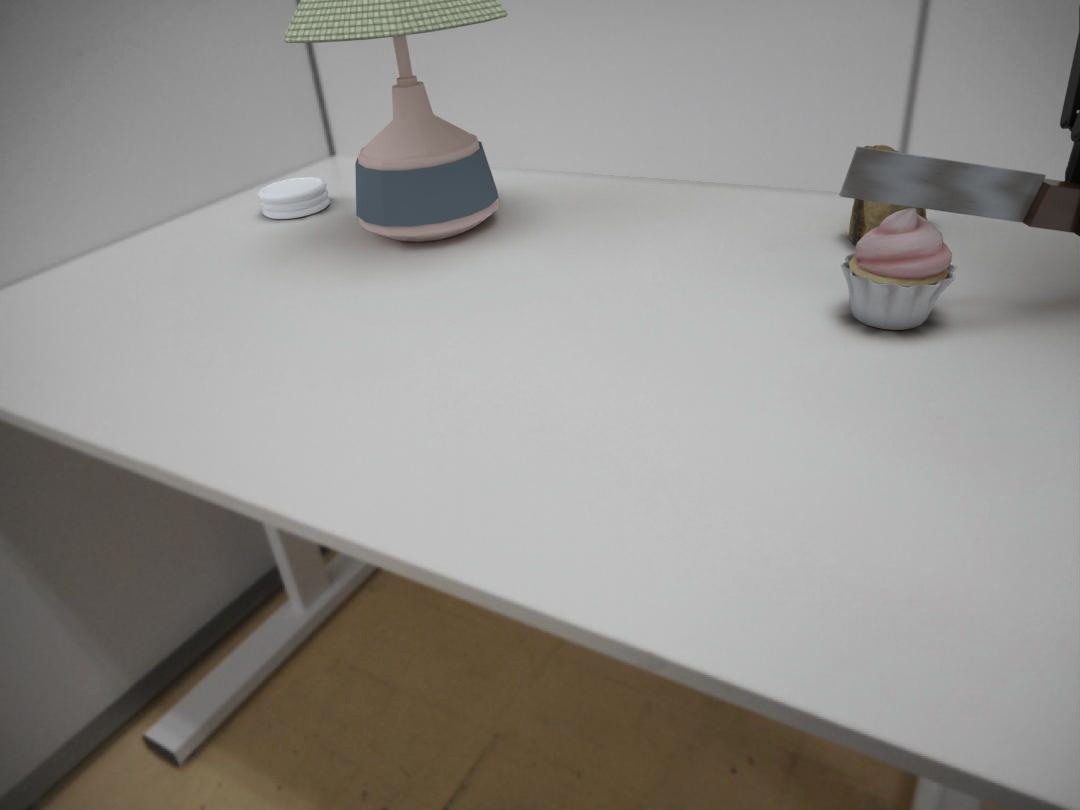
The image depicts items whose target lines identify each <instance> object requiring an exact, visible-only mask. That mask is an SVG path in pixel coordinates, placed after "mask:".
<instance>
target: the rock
mask: <svg viewBox="0 0 1080 810" xmlns="http://www.w3.org/2000/svg"><path fill="white" fill-rule="evenodd" d="M864 147H865V148H872V149H879V150H885V151H892V152H899V153H901V151H899V150H895V149H894V148H893V147H892V146H888V145H884V144H876V145H865V146H864ZM909 208H915V209H916V213H917V214H918V215H919V216H921V217H923V218H924V219H925V220H927V221H928V218H927V209H923V208H916V207H909V206H902V205H895V204H888V203H881V202H874V201H867V200H860V199H853V204H852V209H851V214H850V218H849V219H850V220H849V230H848V238H849V239H850V241H851V242H852V244H853V245H854V246H855V247H856V245H857V242H858V241H859V240H860V239H861V238H862V237H863V236H864V235H865V234H866V233H868V232H869V231H871V230H872V229H874V228H876V227H879V226H880V224H881V222H882V221H883V220H884V219H885V218H887V217H888V216H890V215H892V214H893V213H895V212H898V211H902V210H906V209H909Z"/></svg>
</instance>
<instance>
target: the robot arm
mask: <svg viewBox="0 0 1080 810" xmlns="http://www.w3.org/2000/svg"><path fill="white" fill-rule="evenodd" d="M1076 39H1077V40H1076V43H1075V48H1074V53H1073V57H1072V63H1071V68H1070V73H1069V76H1068V81H1067V87H1066V92H1065V97H1064V100H1063V105H1062V110H1061V114H1060V119H1059V126H1060V128H1061V129H1062V130H1067V129H1068V130H1069V132H1070V140H1071V141H1072V142H1073V145H1072V148H1071V151H1070V154H1069V158H1068V162H1067V165H1066V169H1065V171H1064V181H1065V182H1072V183H1079V184H1080V5H1079V7H1078V34H1077V38H1076ZM1074 235H1076V236H1078V237H1080V219H1079V222H1078V225H1077V228H1076V231H1075V233H1074Z"/></svg>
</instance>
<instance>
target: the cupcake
mask: <svg viewBox="0 0 1080 810" xmlns="http://www.w3.org/2000/svg"><path fill="white" fill-rule="evenodd" d="M952 258H953V252H952V251H951V249H950V248H949V246H948V245H947V243H945V241H944V236H943V233H942V232H941V231H940V230H939V229H938V228H937V227H936V226H934V224H931V222H929V221H928V219H927V220H925V219H924V218H923V217H921V216H919V215H918V214H917V213H916V209H915V208H909V209H906V210H902V211H898V212H895V213H893V214H892V215H890V216H888V217H887V218H885V219H884V220H883V221H882V222H881V224H880V226H879V227H876V228H874V229H872V230H871V231H869V232H868V233H866V234H865V235H864V236H863V237H862V238H861V239H860V240H859V241H858V242H857V245H856V246H855V253H849V254H847V255H845V257H844V259H845V261H844V262H842V263H841V264H840V268H841V271H842V273H843V276H844V278H845V280H846V281H845V282H846V283H847V290H848V296H849V307H850V312H851V314H852V316H853V318H855V319H856V321H858V322H860V323H863V324H864V325H867V326H870V327H873V328H878V329H882V330H890V331H891V330H892V331H897V330H898V331H901V330H902V331H904V330H909V329H910V330H911V329H915V328H918V327H920V326H921V325H923V324H924V323H925V322H926V321H927V320H928V317H929V316H930V314H931V312H932V310H933V308H934V306H935V304H936V303H937V301H938V299H939V298H940V296H941V294H942V293H943V292H944V291H945V290H947V288H948V287H949V286H950V285H951V284H952V283H953V282H954V281H955V280H956V279H957V277H956V275H954V273H955V271H956V270H957V269H958V266H956V265H954V264H951V263H952V260H953V259H952Z"/></svg>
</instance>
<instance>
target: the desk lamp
mask: <svg viewBox="0 0 1080 810" xmlns="http://www.w3.org/2000/svg"><path fill="white" fill-rule="evenodd" d="M508 15H509V12H508V10H507V9H506V8H505V7H504V6H503V5H502V4H501V2H500V1H499V0H299V2H298V5H297V6H296V9H295V11H294V14H293V15H292V17H291V20H290V22H289V24H288V27H287V29H286V31H285V32H284V34H283V37H282V41H284V42H285V43H286V44H319V43H336V42H337V43H339V42H354V41H367V40H368V41H369V40H377V39H385V38H392V42H393V48H394V53H395V59H396V65H397V69H398V75H399V77H397V78H396V84H393V85H392V86H391V99H392V102H391V103H392V120H390V122H389V123H388V124H387V125H386V126H385V127H384V128H383V129H381V131H379V132H378V133H377V134H376V135H375V136H374V137H373V138H371V140H370V141H369V142H368V143H366V145H365V146H364V147H362V148H360V149H359V151H358V155H357V158H356V160H355V163H354V164H355V207H356V208H355V211H356V212H355V214H356V216H357V217H358V221H359V222H358V223H359V225H360V226H361V227H362V228H364V229H365V230H366V231H367V232H370V233H372V234H375V235H377V236H381V237H385V238H388V239H390V240H396V241H398V242H403V243H404V242H405V243H425V242H432V241H440V240H444V239H449V238H452V237H456V236H459V235H461V234H465V233H466V232H469V231H470V230H473V229H474V228H475V227H476V226H478V225H480V224H481V223H482V222H483V221H485V220H487V218H488V217H491V215H493V213H494V212H495V211H496V210H497V209H498V208H499V206H500V205H499V200H498V199H499V197H500V196H499V192H498V187H497V185H496V182H495V180H494V176H493V173H492V169H491V167H490V164H489V161H488V158H487V156H486V152H485V149H484V146H483V142H482V141H480V140H479V139H478V136H477V135H476V134H474V133H470V132H469V131H467V130H465V129H463V128H462V127H459V126H457V125H455V124H453V123H452V122H450V121H447V120H445V119H443V118H441V117H440V116H438V115H435V113H434V112H433V108H432V105H431V102H430V100H429V95H428V93H427V89H426V86H425V83H424V82H423V81H418V78H417V75H413V69H412V63H411V57H410V51H409V45H408V39H407V36H411V35H412V36H413V35H418V34H427V33H434V32H440V31H445V30H451V29H456V28H457V29H458V28H461V27H466V26H472V25H477V24H483V23H488V22H491V21H496V20H499V19H503V18H507V17H508Z"/></svg>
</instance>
